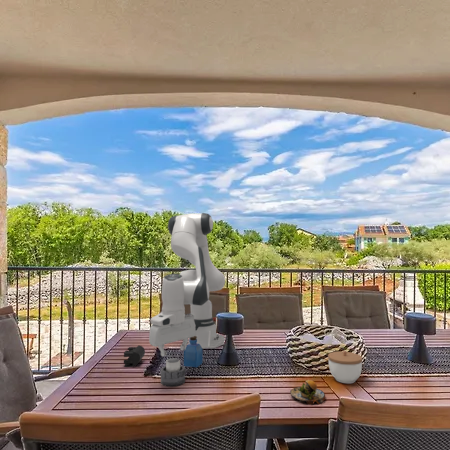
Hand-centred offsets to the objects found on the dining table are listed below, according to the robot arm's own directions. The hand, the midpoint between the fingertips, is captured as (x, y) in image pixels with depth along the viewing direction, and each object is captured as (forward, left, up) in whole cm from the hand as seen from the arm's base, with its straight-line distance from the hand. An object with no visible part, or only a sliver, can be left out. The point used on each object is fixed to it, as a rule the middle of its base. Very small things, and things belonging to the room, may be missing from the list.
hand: (173, 352), depth 143 cm
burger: (-23, +45, -11) cm, 52 cm away
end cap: (-2, -30, -11) cm, 32 cm away
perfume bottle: (-19, -10, -11) cm, 24 cm away
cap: (0, 0, -8) cm, 8 cm away
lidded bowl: (-47, +47, -11) cm, 67 cm away
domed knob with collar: (0, 0, -11) cm, 11 cm away
